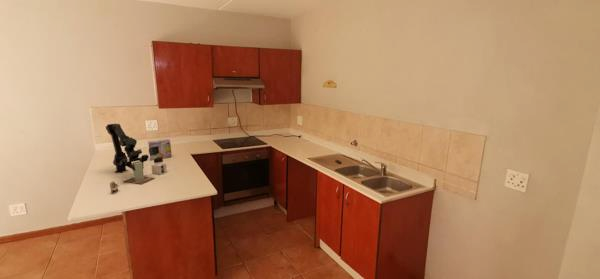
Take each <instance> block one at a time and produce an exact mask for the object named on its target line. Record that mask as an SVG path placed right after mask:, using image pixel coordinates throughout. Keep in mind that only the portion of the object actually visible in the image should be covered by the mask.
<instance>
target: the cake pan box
mask: <svg viewBox="0 0 600 279" xmlns="http://www.w3.org/2000/svg"><path fill="white" fill-rule="evenodd" d="M147 144H148V153H149V158H150V161H154V158H155V157H162V158H163V159H167V158H172V157H173V155H172V154H173V153H172V145H171V144H172V143H171V139H170V138H163V139H157V140H150V141H148V143H147Z"/></svg>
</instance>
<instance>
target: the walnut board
mask: <svg viewBox="0 0 600 279" xmlns="http://www.w3.org/2000/svg"><path fill="white" fill-rule="evenodd" d="M155 179H156V178H155V177H152V176H150V177H149V176H144V180H140V181H136V180H134V176H133V177H131V178H128V179H126V180H123V183H126V184H132V185H133V184H134V185H144V184H147V183H149V182H150V181H153V180H155Z"/></svg>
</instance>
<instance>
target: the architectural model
mask: <svg viewBox="0 0 600 279" xmlns="http://www.w3.org/2000/svg"><path fill="white" fill-rule="evenodd" d="M119 187H120V185H118V183H116V182H115V180H112V181H110V183H109V188H110V189H109V190H110V194H112V193H113V192H117V191H118V190H119Z"/></svg>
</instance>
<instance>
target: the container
mask: <svg viewBox="0 0 600 279" xmlns="http://www.w3.org/2000/svg"><path fill="white" fill-rule="evenodd" d="M150 165H151V173H152V175H158V176H159V175H163V174H166V173H168V170H167V163H166V162H164V158H162V157H155V158H154V160H153V163H152V164H150Z"/></svg>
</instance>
